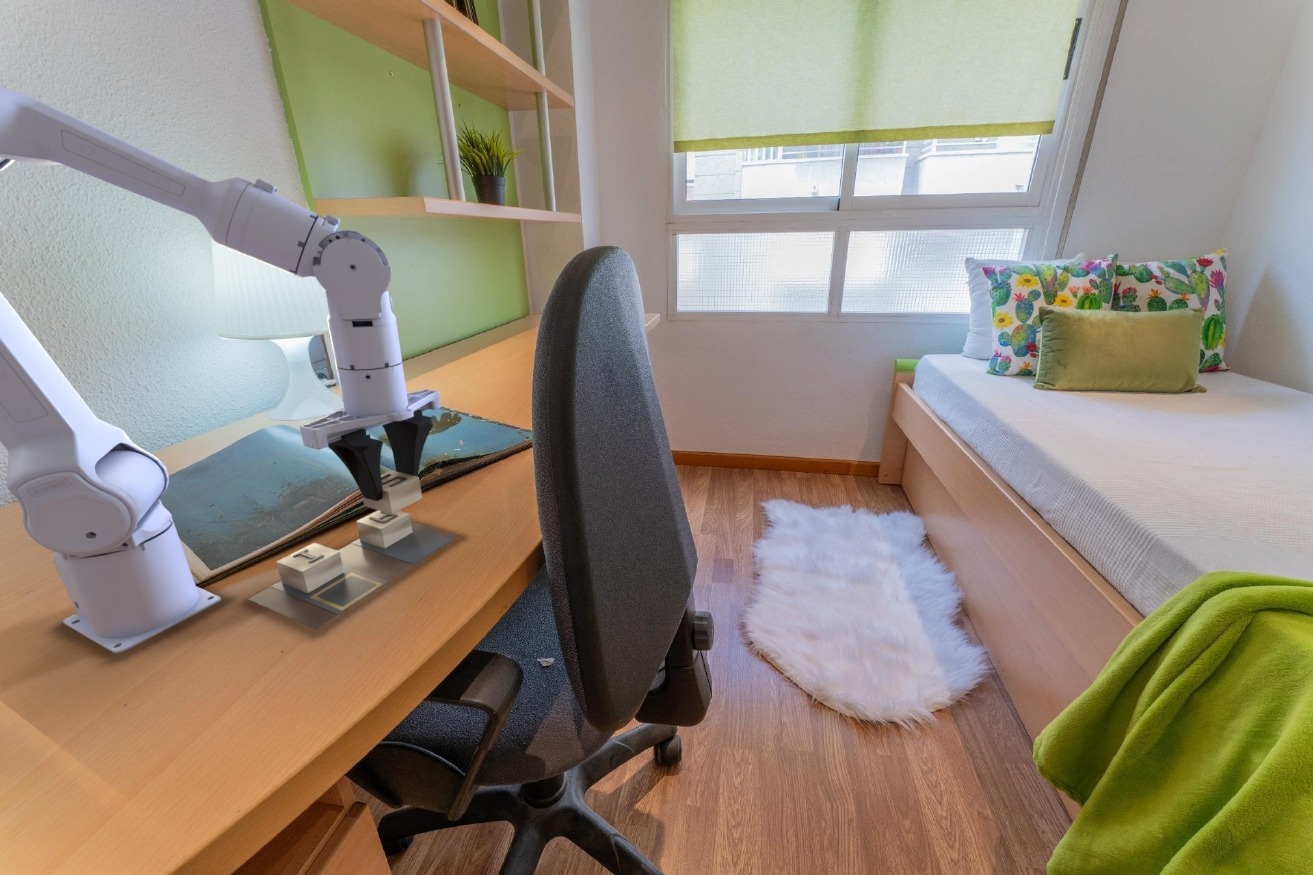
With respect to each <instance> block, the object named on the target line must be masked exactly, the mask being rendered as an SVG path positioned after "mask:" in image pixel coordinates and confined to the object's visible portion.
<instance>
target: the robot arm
mask: <svg viewBox="0 0 1313 875" xmlns="http://www.w3.org/2000/svg"><path fill="white" fill-rule="evenodd" d="M15 161H16V162H20V163H23V164H24V163H25V164H28V165H33V166H66V167H68V168H70V169H73V170H75V171H79V173H80V172H81V173H83V174H86V175H88V176H91V177H92V178H96V179H98V180H100V181H103V182H106V183H108V184H111V185H113V186H116V187H119V188H121V189H123V190H126V191H129V192H131V193H134V194H135V195H139V196H141V197H143V198H146V199H149V200H151V201H153V202H156V203H159V204H161V205H164V206H166V207H168V208H170V209H174V210H176V211H178V212H182V213H183V214H187V215H189V216H192V217H194V218H196V219H198V221H199V222H200V223H201V224H202V225H203V227H204V228H205V230H206V232H207V233H208V234H209V236H210V239H211V240H212V241H213V242H214V243H215V244H217V245H219V246H222V247H225V248H226V249H229V250H231V251H233V252H236V253H238V254H241V255H244V256H246V257H249V258H251V259H253V260H256V261H259V262H261V263H263V264H265V265H268V266H271V267H273V268H276V269H278V270H280V271H283V272H284V273H288V274H290V275H293V276H296V277H297V278H300V279H305V278H308V277H312V278H313V277H314V278H316V280H317V282H318V283H319V286H321V287H322V288H323V289H324V294H325V298H326V304H327V305H326V306H327V310H328V315H327V317H326V319H327V320H326V321H327V327H328V332H329V336H330V343H331V347H332V352H333V358H334V364H335V370H336V373H337V378H338V383H339V389H340V390H339V391H340V395H341V400H342V405H343V408H340V409H338V410H337V411H334V412H332V413H329V414H328V415H326V416H324V417H321V418H319V419H317V420H315V421H311V422H309V423H307V424H303V425H300V426H299V431H300V434H301V439H302V440H301V441H302V444H303V446H304V447H306V448H309V449H313V450H318V451H319V450H323V449H325V448H329V449H330V450H331V451H332V453H334V454H335V455H336V456H337V457H338V459H339V460H340V461H341V462H342V463H343V465H344V466H345V467H346V469H347V471H348V472H349V473H350V474H351V476H352V478H353V480H354V481H355V483H356V485H357V487H358V489H359V491H360V493H361V496H362V495H363V496H362V498H363V497H364V498H367V499H370V500H374V501H379V500H381V499H382V496H383V486H382V479H381V475H382V474H381V455H382V449H383V445H384V441H383V440H380V439H375V438H371V434H370V433H368V434H367V432H368V431H369V430H372V429H375V428H378V427H381V426H382V428H383V430H384V432H385V434H386V436H387V439H388V442H389V445H390V448H391V452H392V455H393V456H392V457H393V462H394V467H395V471H396V472H400V473H404V474H408V475H412V476H417V477H418V473H419V470H420V465H421V459H422V454H423V450H424V447H425V444H426V441H427V439H428V437H429V434H430V433H431V431H432V429H433V427H434V422H433V418H432V417H431V416H427V415H423V412H425V411H429V410H432V411H435V410H438V409H441V408H442V404H441V396H440V391H439V390H433V389H427V388H425V389H422V390H417V391H413V392H407V386H406V379H405V372H404V371H405V370H404V365H403V364H404V363H403V359H402V352H401V345H400V344H401V343H400V338H399V337H400V336H399V331H398V330H399V329H398V324H397V318H396V314H395V313H394V312H393V311H392V309H393V306H394V304H393V298H392V295H391V293H390V292H389V289H388V287H389V285H390V283H391V280H392V272H393V271H392V266H390V264H389V260H388V258H387V256H386V255H385V253H384V251H383V250H382V248H381V247H380V246H379V245H378V244H377V243H376V242H375V241H373V240H371V239H370V238H369V237H366V236H365V235H363V234H362V233H361V232H359V231H357V230H351V229H342V230H338V229H339V226H340V224H341V220H340V218H338V217H337V216H335V215H332V214H330V213H327V214H326V217H325V216H323V215H320V214H319V213H316V212H315V211H312V210H309V209H308V208H307V207H303V206H301V205H299V204H298V203H295V202H293V201H291V200H289V199H288V198H285V197H282V196H280V195H278V194H277V192H278V187H277V186H275V185H274V184H271V183H269V182H267V181H266V180H264V179H261V178H256V179H255V182H254V183H253V182H251V181H249V180H247V179H246V178H245V179H244V178H242V177H240V176H238V177H237V176H236V177H231V178H227V179H223V180H219V181H210V180H208V179H206V178H203V177H201V176H199V175H197V174H195V173H193V172H191V171H189V170H186V169H185V168H182V167H181V166H179V165H176V164H174V163H173V162H170V161H169V160H166V159H164V158H162V157H161V156H158V155H156V154H153V153H152V152H150V151H148V150H145V149H143V148H142V147H140V146H138V145H136V144H133V143H131V142H129V141H127V140H124V139H123V138H121V137H118V136H117V135H115V134H112V133H110V132H108V131H106V130H104V129H101V128H100V127H97V126H96V125H93V124H91V123H89V122H87V121H85V120H83V119H81V118H79V117H77V116H75V115H72V114H70V113H69V112H66V111H64V110H62V109H60V108H58V107H55V106H53V105H51V104H48V103H46V102H43V101H41V100H38V99H36V98H34V97H32V96H28V95H25V94H23V93H20V92H17V91H15V90H11V89H9V88H6V87H3V86H0V172H1V171H3V170H5V169H7V168H8V167H9V166H10V165H12V164H13V163H14V162H15ZM0 443H1V444H2V445H3V447H4V448H5V449H6V451H7V454H8V456H7V458H8V459H7V469H6V470H7V472H6V488H7V490H8V491H9V492H10V494H12V495H13V497H14V498H15V499H16V501H17V502H18V503H19V505H20V508H21V510H22V524H23V527H24V530H25V532H26V534H27V535H28V536H29V537H30V539H32V541H34V542H35V543H37V544H38V545H39V546H41V547H43V548H45V549H46V550H49V551H51V552H53V563H54V566H55V569H56V571H57V573H58V575H59V577H60V579H61V582H62V584H63V586H64V588H65V591H66V592H67V595H68V598H69V599H70V601H71V603H72V606H73V608H74V611H75V613H74V614H71V615H70V616H68V617H66V618H64V619H63V620H62V623H63V624H64V625H65V626H67V627H68V628H70V629H72V630H74V631H75V632H77V633H79V634H81V635H82V636H84V637H85V638H87V639H89V640H91V641H92V642H94V643H96V644H97V645H99V646H101V647H103V648H104V649H106V650H107V651H109V652H111V653H113V654H116V655H117V654H121V653H124V652H125V651H127V650H130V649H132V648H134V647H135V646H137V645H139V644H141V643H143V642H145V641H147V640H149V639H151V638H152V637H155V636H157V635H159V634H160V633H162V632H164V631H166V630H168V629H170V628H172V627H174V626H175V625H177V624H180V623H181V622H184V621H185V620H187V619H189V618H191V617H193V616H195V615H197V614H198V613H201V612H203V611H205V610H206V609H208V608H210V607H212V606H214V605H216V604H218V603H220V602H221V600H222V598H221V596H219V595H217V594H214V593H212V592H210V591H208V590H205V589H203V588H201V587H199V586H197V585H196V582H195V579H194V577H193V574H192V570H191V569H190V565H189V562H188V560H187V557H186V554H185V551H184V549H183V545H182V542H181V540H180V537H179V534H178V530H177V528H176V525H175V522H174V520H173V516H172V513H171V512H170V511H169V510H168V508H166V507H165V505H163V503H162V500H161V497H162V496H163V495H164V494H165V492H166V491H167V489H168V486H169V484H170V475H169V472H168V470H167V466H166V465H165V464H164V462H162V460H160V459H159V458H158V457H157V456H155V455H154V454H153V453H150V452H149V451H147V450H145V449H143V448H141V447H139V446H138V445H137V444H136V443H134V442H133V440H131V439H130V438H129V436H128V435H127V433H126V432H125V431H124V429H122V428H120V427H117V426H115V425H114V424H111V423H108V422H106V421H104V420H101V419H99V417H97V416H96V415H95V414H94V413H93V411H92V410H91V408H90V407H89V406H88V405H87V403H86V402H85V401H84V400H83V398H82V396H80V394H79V393H78V391H77V390H76V389H75V387H73V385H72V384H71V382H70V381H69V380H68V378H67V377H66V375H65V374H64V373H63V372H62V371H61V370H60V368H59V367H58V366H57V364H56V362H55V361H54V359H52V357H51V356H50V355H49V353H48V352H47V351H46V349H45V348H44V347H43V346H42V344H41V343H40V342H39V341H38V338H36V337H35V335H34V334H33V333H32V331H31V330H30V328H29V327H28V326H27V325H26V323H25V322H24V321H23V319H22V318H21V316H20V315H19V314H18V313H17V311H16V310H15V309H14V307H13V306H12V305H11V304H10V302H9V301H8V300H7V299H6V297H5V296H4V294H3V293H2V292H1V291H0Z"/></svg>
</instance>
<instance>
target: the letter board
mask: <svg viewBox="0 0 1313 875" xmlns="http://www.w3.org/2000/svg"><path fill="white" fill-rule="evenodd" d="M411 526H412V533H411V534H409V535H407V536H405V537H404V538H402V539H400V540H399V541H397V542H395V543H393V544H392V545H390V546H388V547H387V548H385V549H384V548H381V547H378V546H375V545H372V544H369V543H366V542H363V541H360V537H359V538H357V539H355V540H354V541H352V542H350V544H347V545H345V546H344V547H342V548H340V549H338V550H337V551H340V555H341V559H342V564H343V568H344V573H342V574H340V575H339V576H337V577H335V578H333V579H332V580H330V581H328V582H327V583H325V584H323V585H322V586H320V587H318V588H316V589H315V590H313V591H311V592H310V593H305V592H303V591H300V590H298V589H295V588H293V587H291V586H288V585H286V584H283V583H282V581H281V580H279V581H277V582H276V583H274V584H272V585H270V587H268V588H266V589H264V590H262V591H260V592H258V593H256V594H255V595H253V596H251V597H249V598H248V599H247V600H248V601H251V602H253V603H255V604H257V605H260V606H262V607H264V608H267V609H269V610H271V611H273V612H275V613H278V614H280V615H281V616H285V617H287V618H289V619H291V620H293V621H296V622H298V623H301V624H303V625H305V626H308V627H310V628H311V629H314V630H317V629H319V628H320V627H322V626H323V625H325V624H327V623H328V622H329V621H331V620H333V619H335V618H336V617H337V616H339V615H340V614H342V613H344V612H345V611H347V610H348V609H350V608H351V607H353V606H354V605H356V604H357V603H359V602H361V601H362V600H363V599H365V598H367V597H368V596H370V595H371V594H373V593H374V592H376V591H378V590H379V589H380V588H382V587H383V586H385V585H387V584H388V583H389V582H391V581H392V580H394V579H395V578H397V577H399V576H400V575H401V574H403V573H404V572H406V571H408V570H409V569H411V568H412V567H414V566H415V565H417V564H418V563H420V562H421V561H423V560H425V559H426V558H428V557H429V556H431V555H433V553H435V552H437V551H438V550H439V549H441V548H443V547H445V546H446V545H447V544H449V543H451V542H452V541H454V540H455V539H456V538H458V537H460V534H457V533H453V532H449V531H446V530H443V529H439V528H436V527H433V526H430V525H426V524H422V523H419V522H417V521H412V520H411Z"/></svg>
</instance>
